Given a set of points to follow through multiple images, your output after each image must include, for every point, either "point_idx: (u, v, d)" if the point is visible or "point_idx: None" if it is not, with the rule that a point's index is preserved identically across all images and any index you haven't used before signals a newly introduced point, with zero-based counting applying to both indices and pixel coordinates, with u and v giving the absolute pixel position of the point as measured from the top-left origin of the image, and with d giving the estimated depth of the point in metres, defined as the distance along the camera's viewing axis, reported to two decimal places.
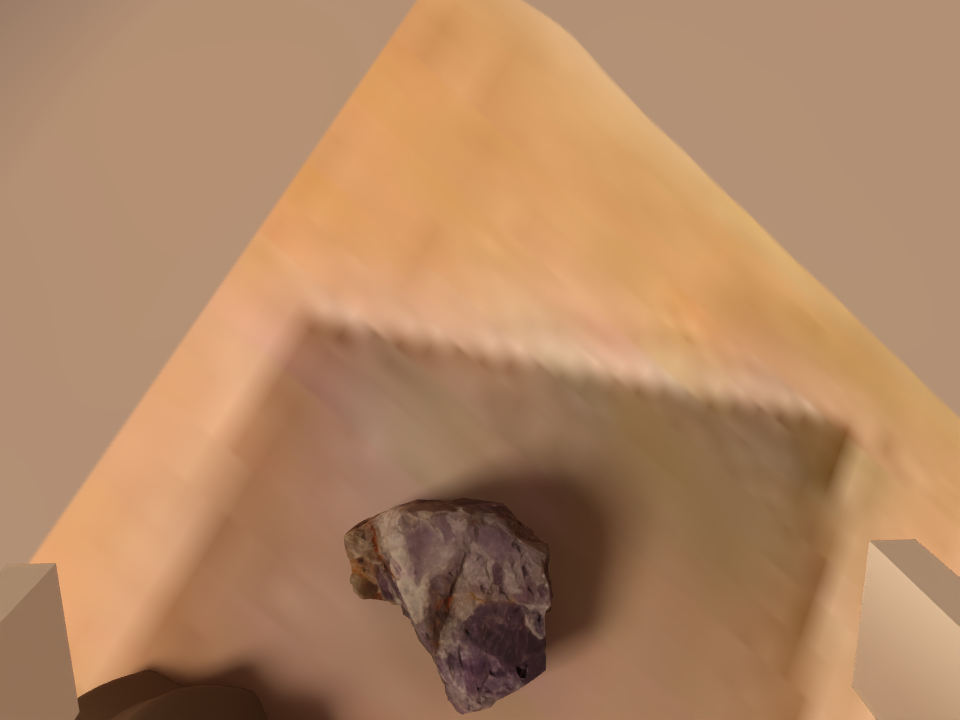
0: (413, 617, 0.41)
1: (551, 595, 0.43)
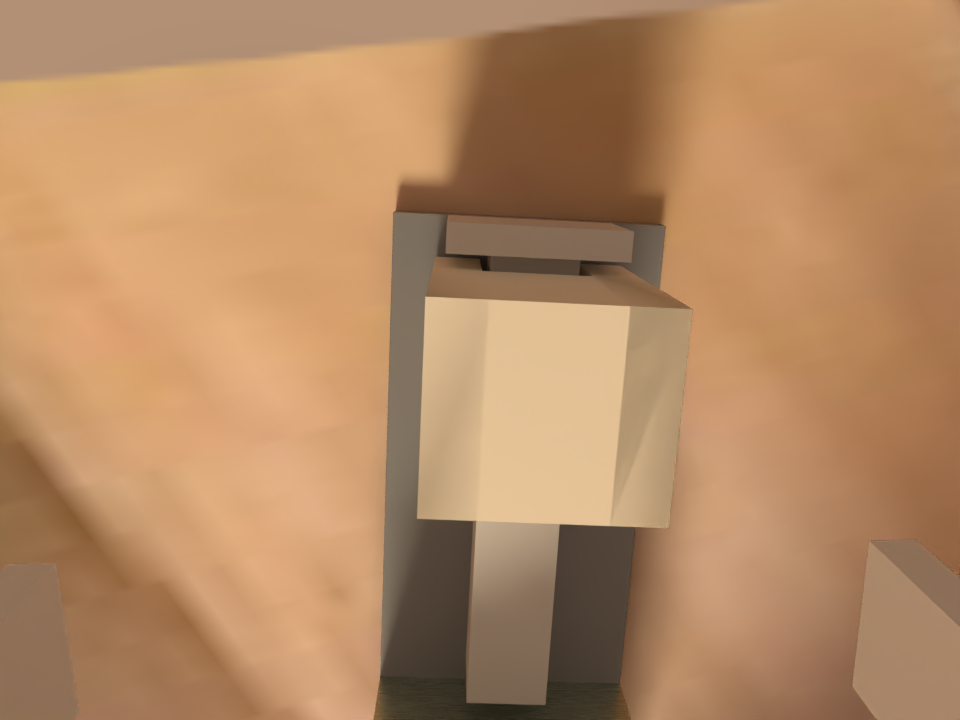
0: None
1: None
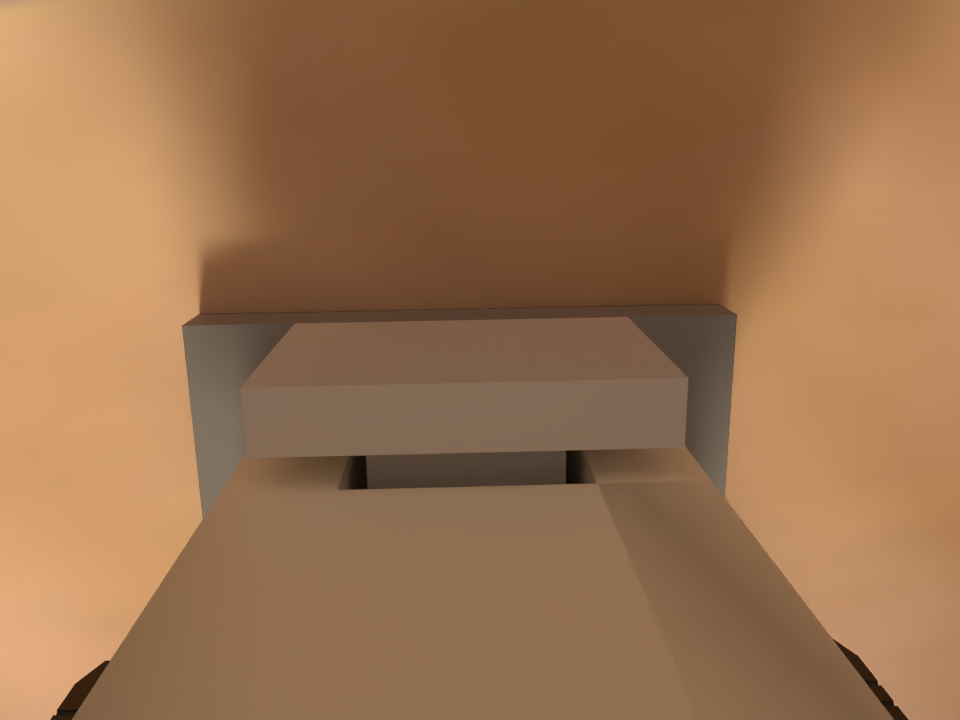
0: None
1: None
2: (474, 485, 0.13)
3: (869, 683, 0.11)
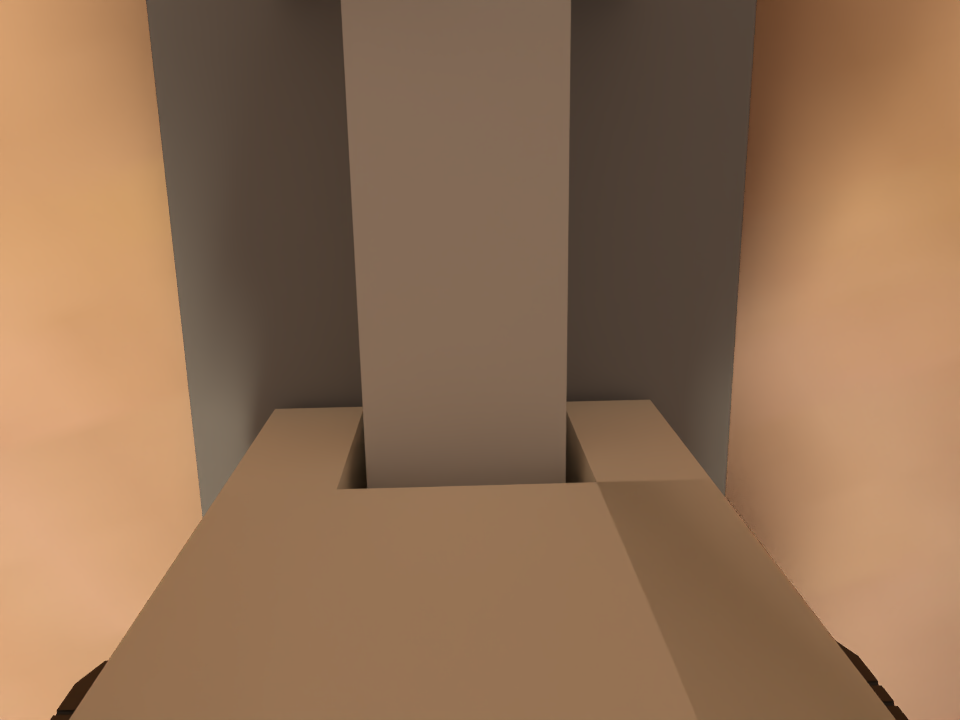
0: None
1: None
2: (465, 27, 0.11)
3: (869, 683, 0.11)
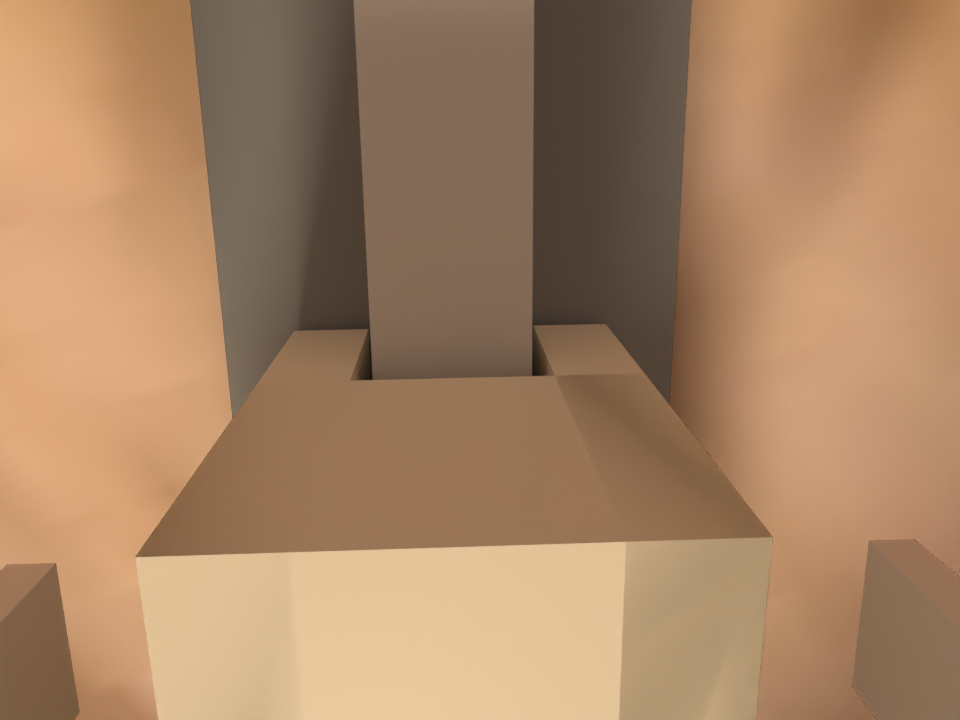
0: None
1: None
2: None
3: None
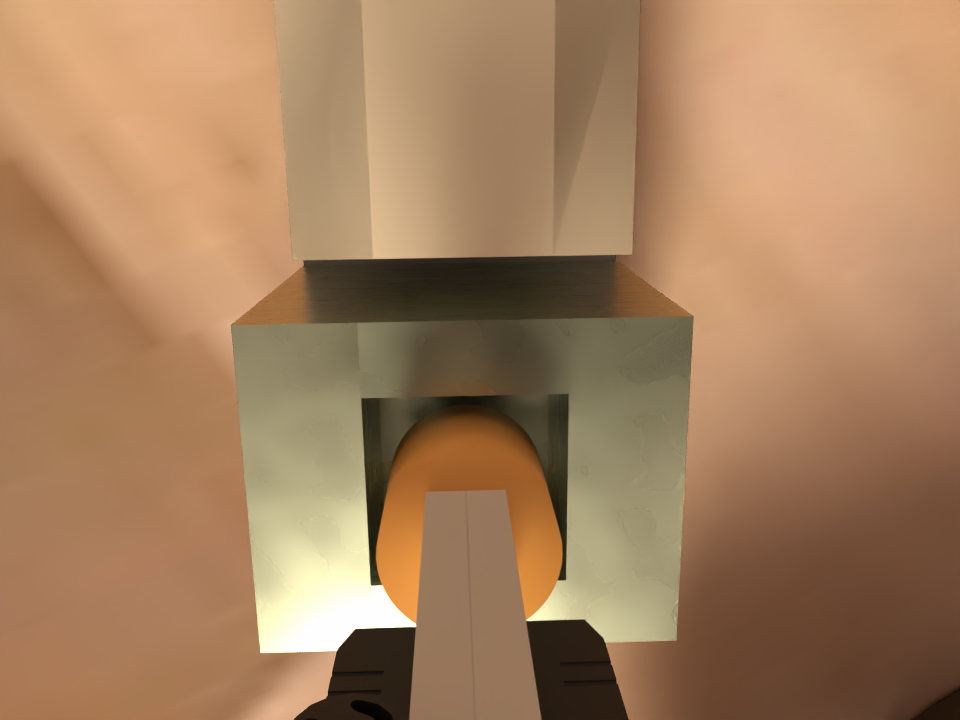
0: None
1: None
2: None
3: (602, 663, 0.11)
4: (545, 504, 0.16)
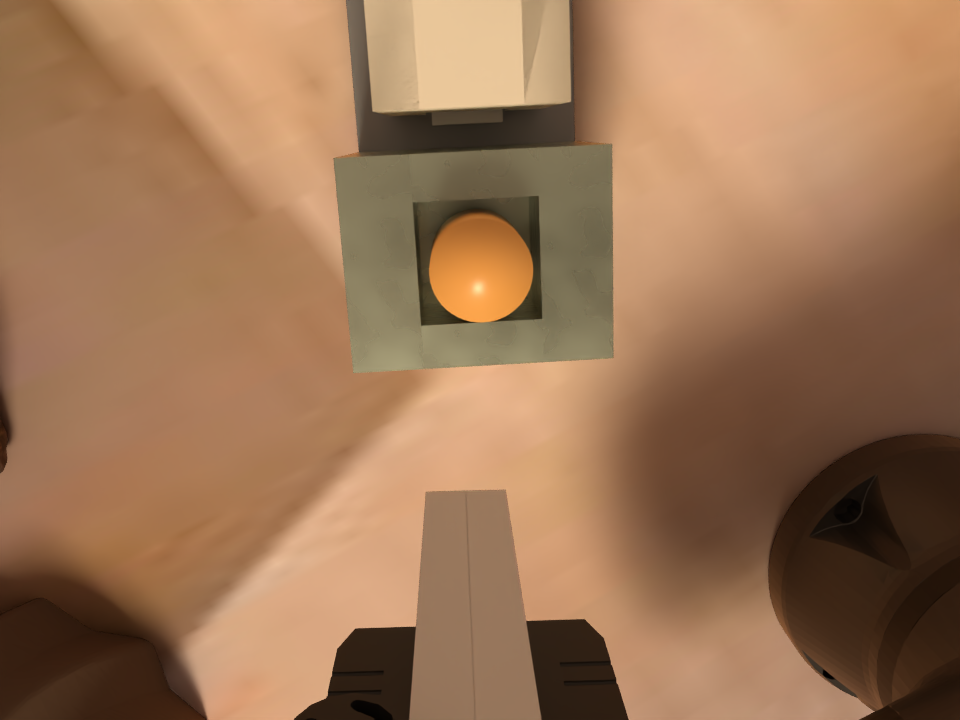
0: None
1: None
2: None
3: (603, 663, 0.11)
4: (522, 239, 0.29)
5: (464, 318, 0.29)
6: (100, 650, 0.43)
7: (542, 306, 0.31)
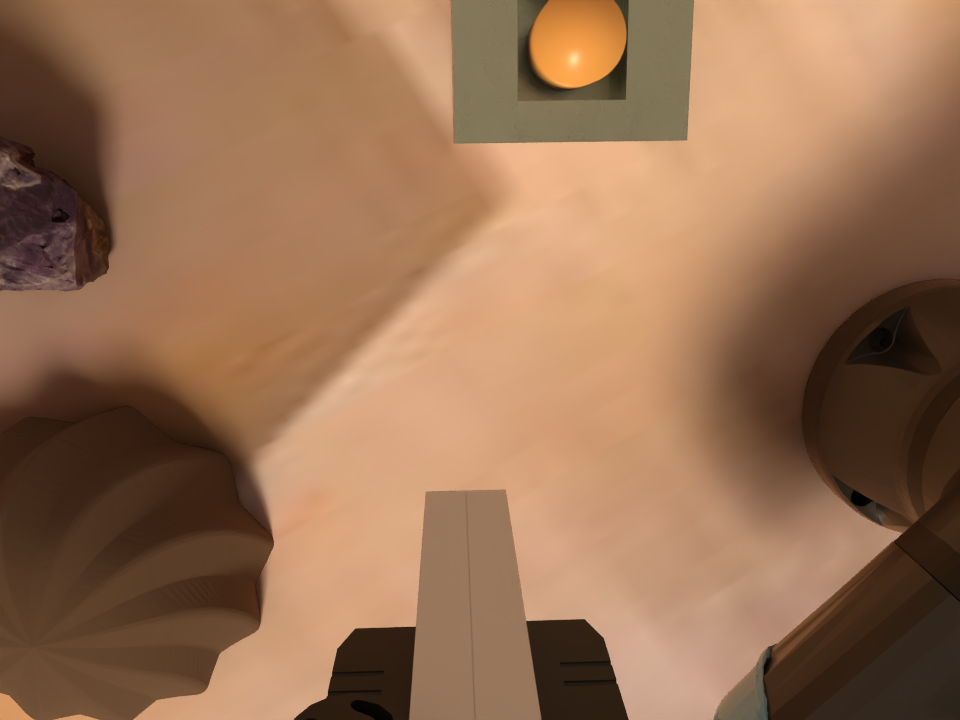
0: None
1: (3, 145, 0.39)
2: None
3: (603, 663, 0.11)
4: (618, 7, 0.32)
5: (563, 79, 0.33)
6: (184, 452, 0.47)
7: (626, 88, 0.35)
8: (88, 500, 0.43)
